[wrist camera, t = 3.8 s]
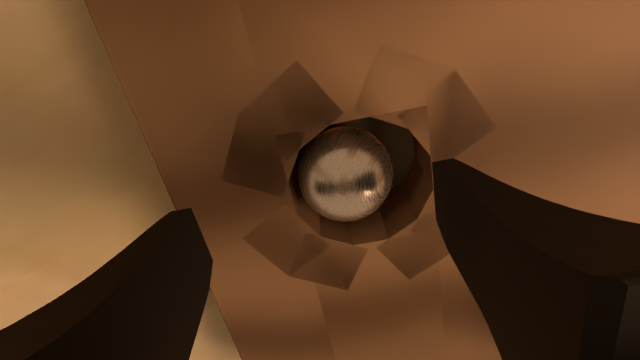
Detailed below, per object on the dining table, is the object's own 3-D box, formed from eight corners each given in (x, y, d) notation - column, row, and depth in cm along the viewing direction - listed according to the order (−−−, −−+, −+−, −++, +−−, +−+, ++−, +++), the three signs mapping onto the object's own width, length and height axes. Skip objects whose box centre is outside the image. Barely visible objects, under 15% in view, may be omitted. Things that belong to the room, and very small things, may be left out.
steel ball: (337, 183, 17) (412, 195, 15) (291, 230, 14) (371, 250, 13) (321, 109, 15) (403, 112, 13) (267, 149, 13) (355, 160, 11)
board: (684, 288, 19) (734, 331, 17) (265, 355, 20) (261, 403, 18) (878, -344, 10) (1049, -433, 7) (71, -138, 11) (12, -163, 9)
